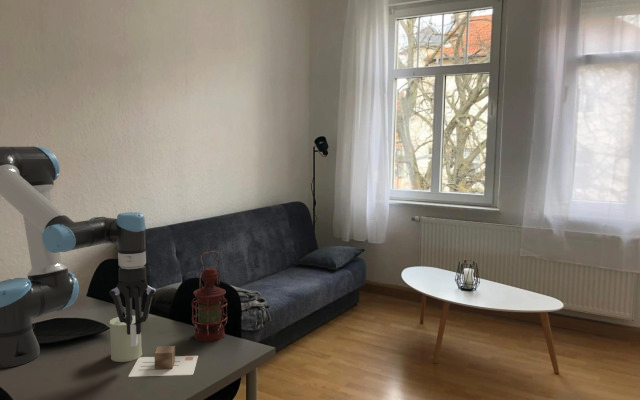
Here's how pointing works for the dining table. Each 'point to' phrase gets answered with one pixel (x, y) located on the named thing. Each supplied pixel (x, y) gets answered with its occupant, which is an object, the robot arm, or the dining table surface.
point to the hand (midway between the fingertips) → (134, 344)
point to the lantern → (209, 306)
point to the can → (123, 342)
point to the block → (164, 357)
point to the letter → (147, 368)
